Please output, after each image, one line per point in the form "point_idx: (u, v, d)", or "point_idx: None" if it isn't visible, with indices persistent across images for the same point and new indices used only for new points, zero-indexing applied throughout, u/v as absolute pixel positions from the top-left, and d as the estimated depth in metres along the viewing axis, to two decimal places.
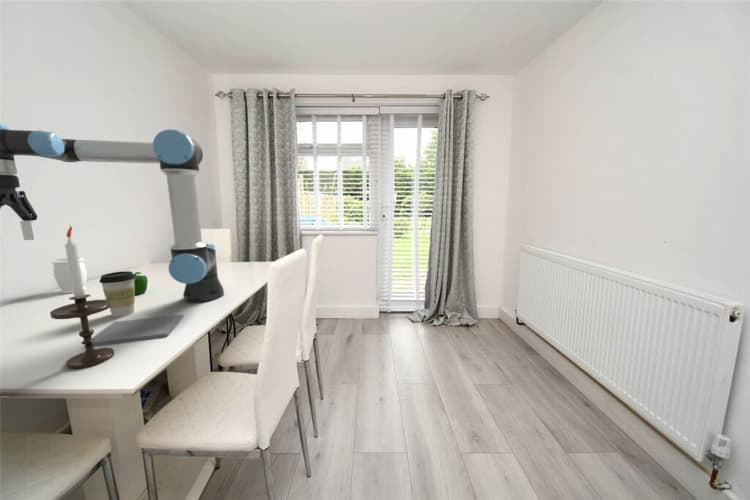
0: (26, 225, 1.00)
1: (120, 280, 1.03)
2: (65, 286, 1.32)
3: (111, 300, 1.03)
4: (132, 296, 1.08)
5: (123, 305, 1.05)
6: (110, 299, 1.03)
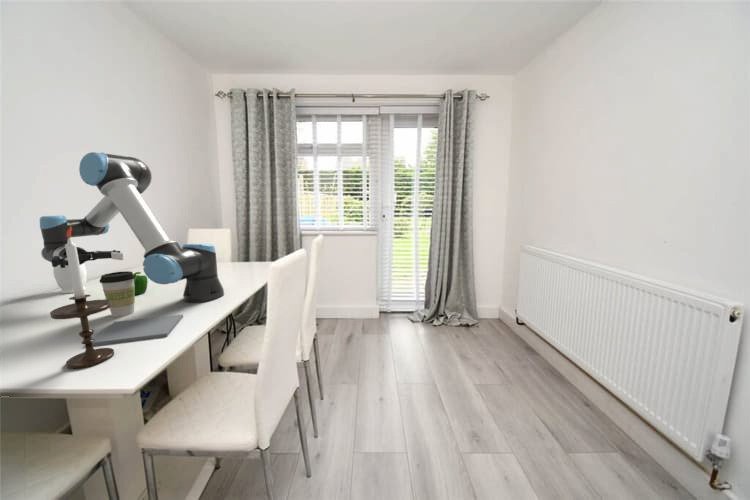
0: (113, 255, 1.17)
1: (120, 280, 1.03)
2: (65, 286, 1.32)
3: (111, 300, 1.03)
4: (132, 296, 1.08)
5: (123, 305, 1.05)
6: (110, 299, 1.03)
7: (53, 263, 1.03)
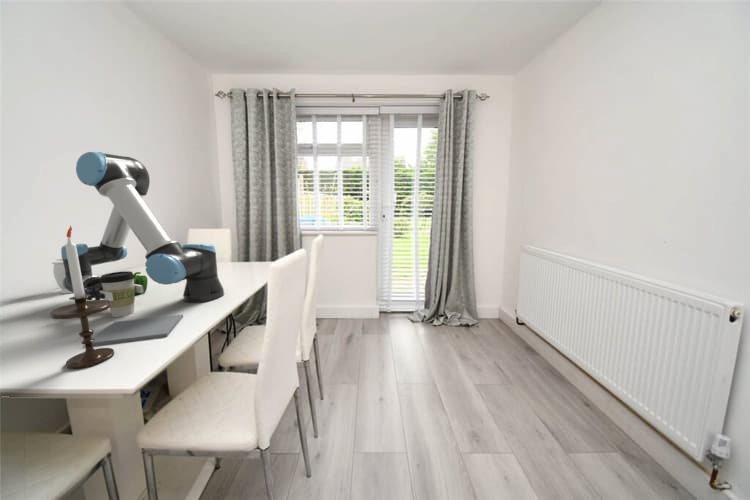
0: None
1: (120, 280, 1.03)
2: None
3: None
4: (132, 296, 1.08)
5: (123, 305, 1.05)
6: None
7: (89, 296, 1.01)
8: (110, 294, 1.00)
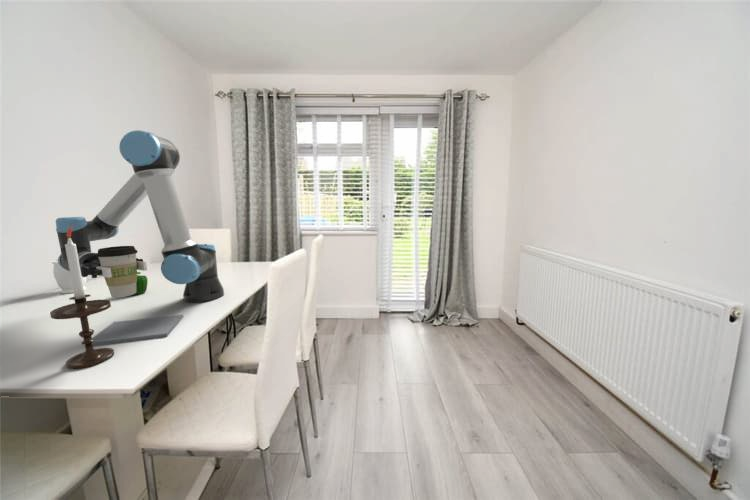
0: None
1: (119, 254, 0.89)
2: (65, 286, 1.32)
3: None
4: (134, 274, 0.93)
5: (123, 284, 0.91)
6: None
7: (84, 272, 0.87)
8: (108, 270, 0.86)
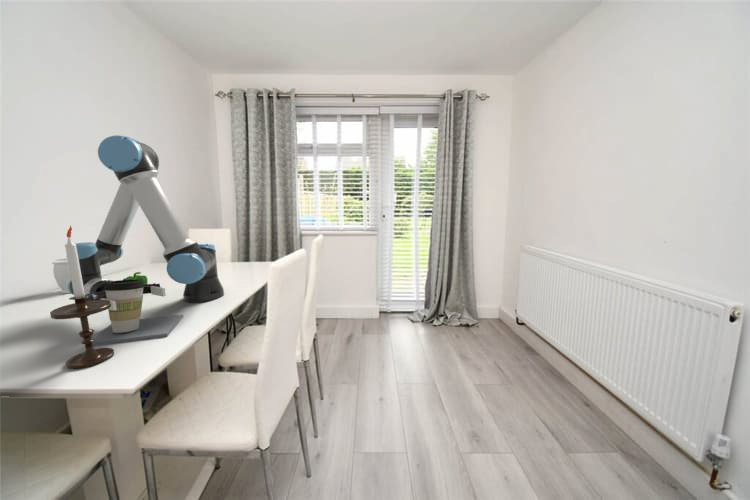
0: (153, 290, 0.99)
1: (128, 288, 0.88)
2: (65, 286, 1.32)
3: (114, 312, 0.87)
4: (139, 308, 0.92)
5: (127, 319, 0.89)
6: None
7: None
8: (113, 303, 0.85)
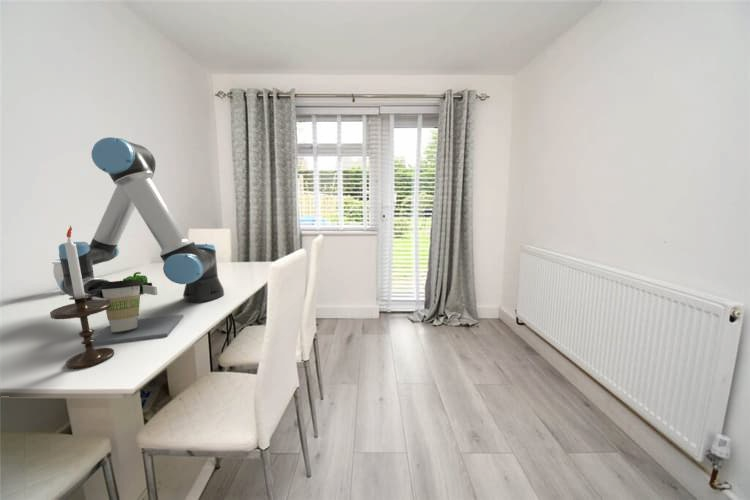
0: (145, 289, 1.00)
1: (123, 286, 0.88)
2: None
3: (111, 310, 0.87)
4: (136, 307, 0.92)
5: (124, 317, 0.89)
6: (110, 309, 0.87)
7: None
8: None
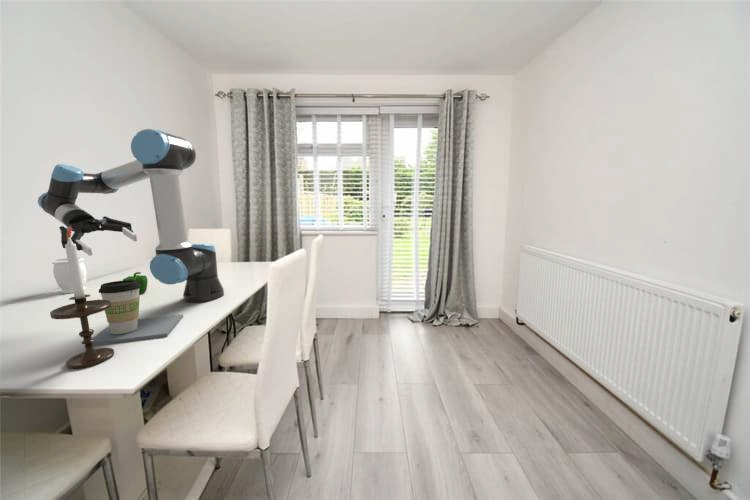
0: (125, 232, 1.09)
1: (122, 290, 0.86)
2: (65, 286, 1.32)
3: (110, 314, 0.87)
4: (135, 310, 0.91)
5: (124, 321, 0.88)
6: (109, 313, 0.87)
7: (64, 245, 0.96)
8: (89, 250, 0.96)
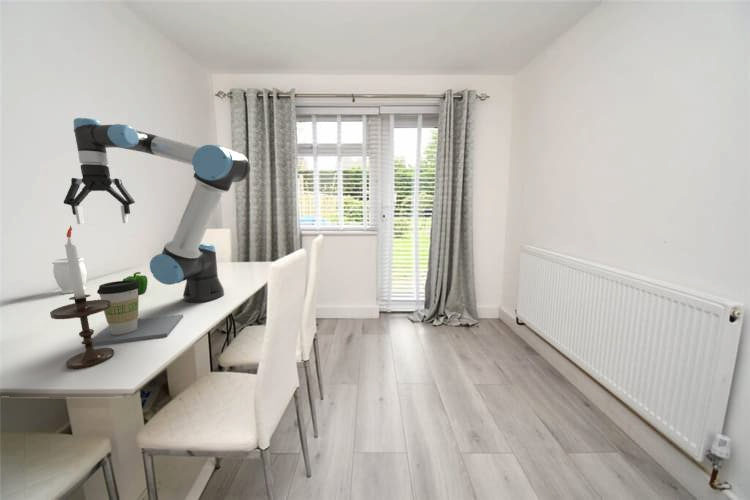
0: None
1: (120, 291, 0.86)
2: (65, 286, 1.32)
3: (109, 315, 0.86)
4: (135, 310, 0.91)
5: (123, 321, 0.88)
6: (108, 313, 0.86)
7: None
8: None
